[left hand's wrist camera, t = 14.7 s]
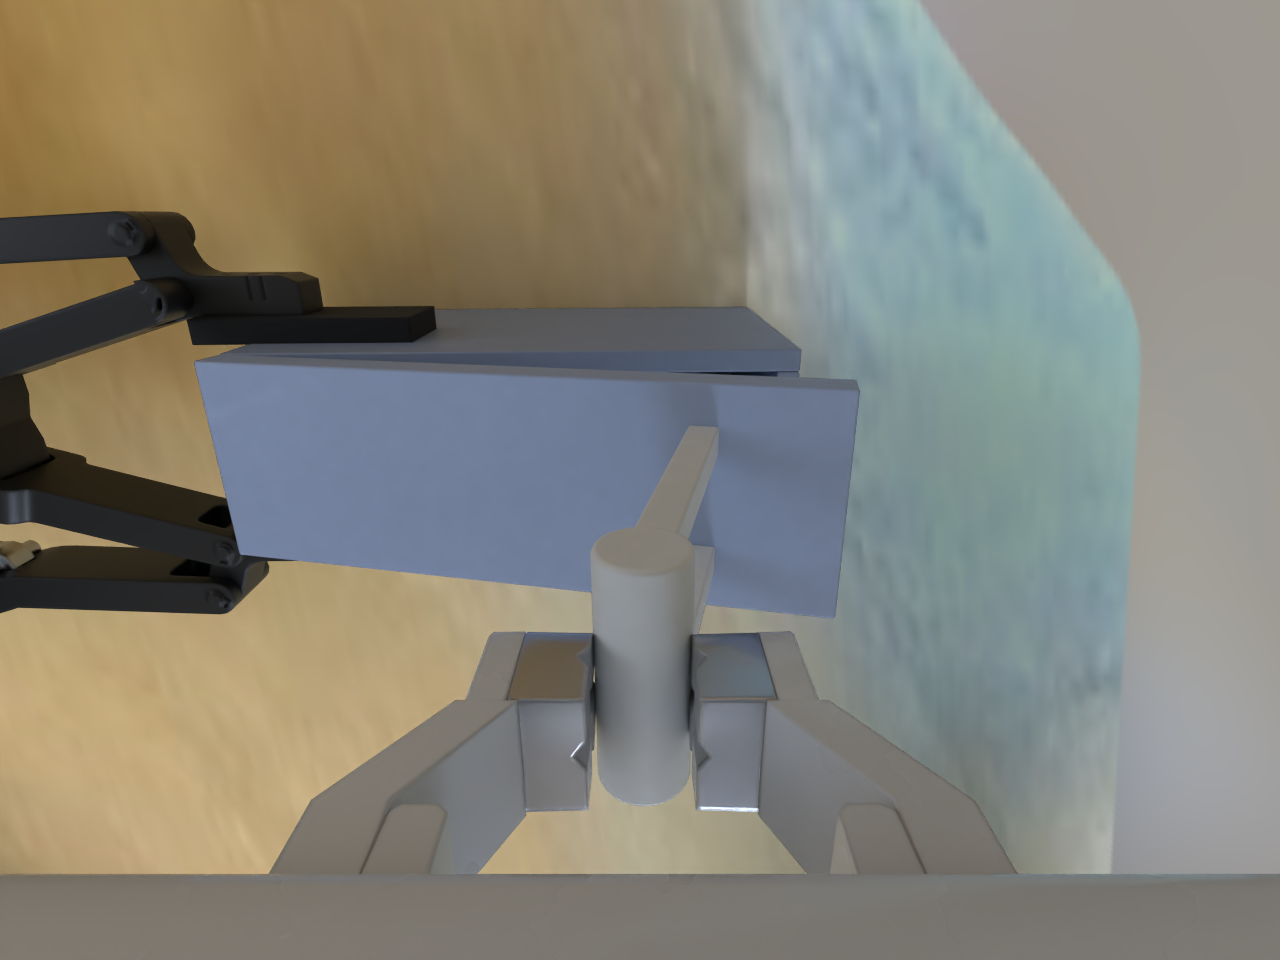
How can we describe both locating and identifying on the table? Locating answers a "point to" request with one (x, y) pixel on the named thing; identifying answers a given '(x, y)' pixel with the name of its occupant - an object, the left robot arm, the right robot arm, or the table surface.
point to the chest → (581, 341)
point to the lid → (554, 502)
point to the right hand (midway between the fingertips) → (433, 421)
